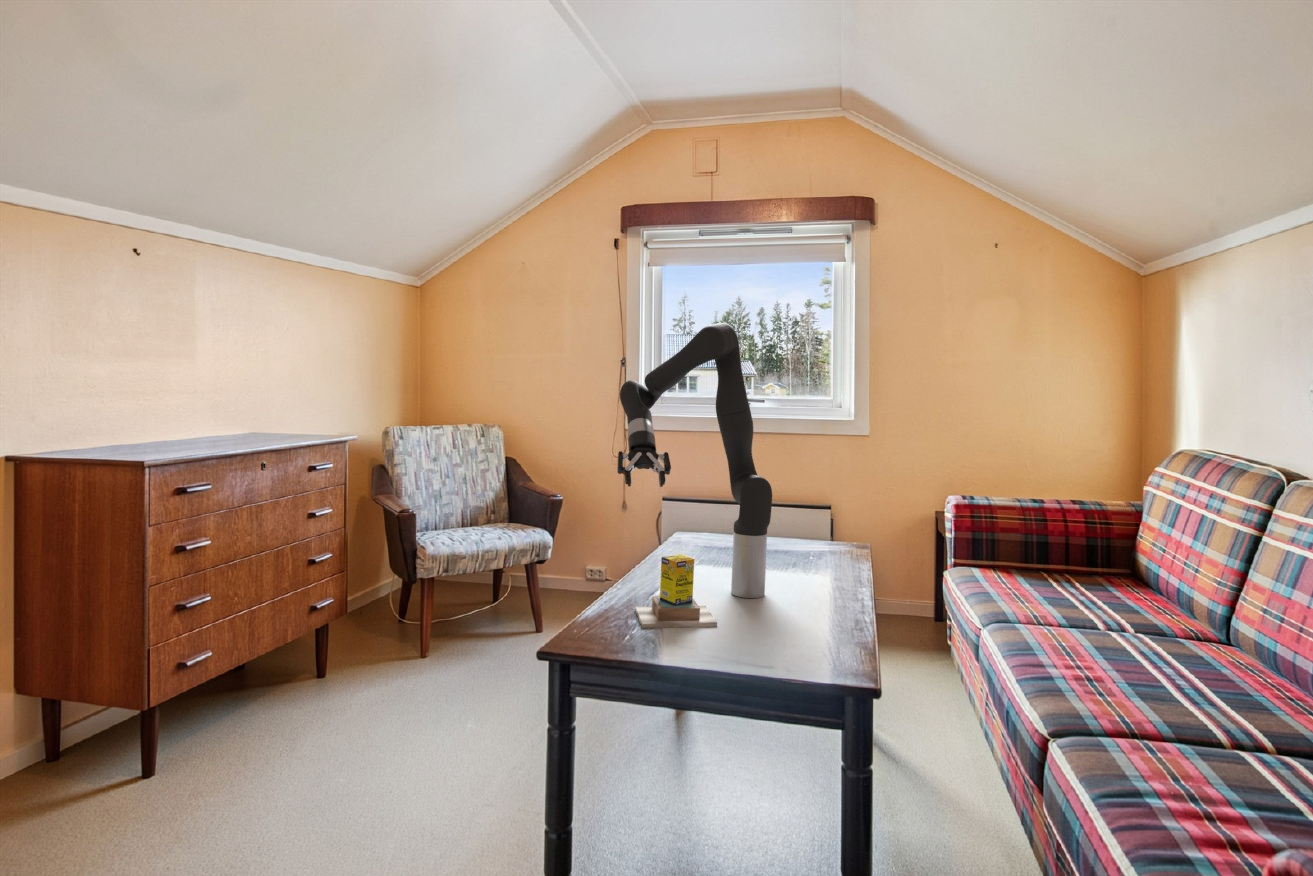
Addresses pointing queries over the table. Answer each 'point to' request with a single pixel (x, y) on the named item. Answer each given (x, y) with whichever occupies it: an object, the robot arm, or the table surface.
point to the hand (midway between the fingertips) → (645, 484)
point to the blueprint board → (654, 623)
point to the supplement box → (677, 579)
